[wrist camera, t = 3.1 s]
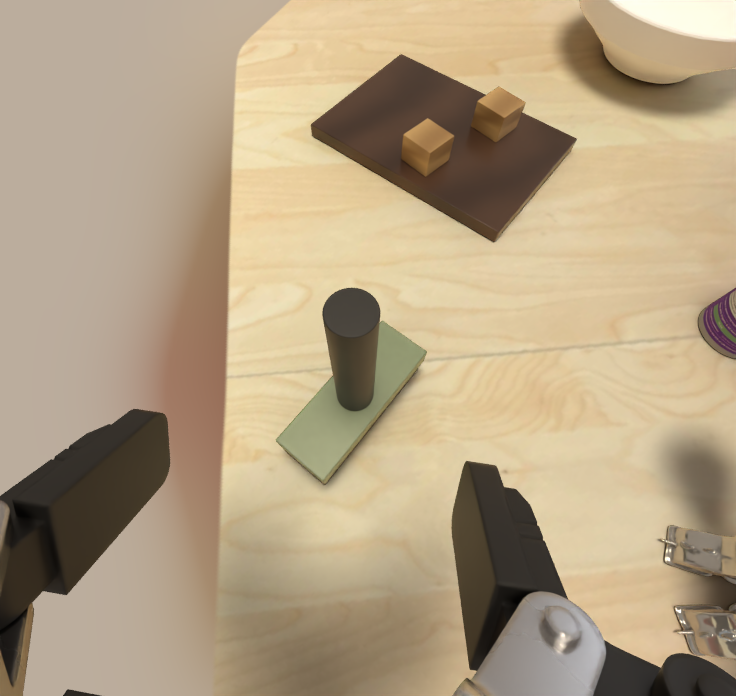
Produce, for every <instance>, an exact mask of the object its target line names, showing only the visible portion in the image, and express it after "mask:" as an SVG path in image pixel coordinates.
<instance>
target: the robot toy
mask: <svg viewBox="0 0 736 696" xmlns="http://www.w3.org/2000/svg"><path fill="white" fill-rule="evenodd" d="M660 540H662V541H663V542H665V543H667V546H666V551H665V557H664V560H665V563H666V564H668V565H671V566H674V567H677V568H680V569H683V570H686V571H689V572H692V573H696V574H699V575H703V576H709V577H710V576H712V574H714V575H718V576H722V577H723V578H724V579H725V580H726V581H728V582H730V583H732V584H735V585H736V537H733V536H721V535H716V534H712V533H708V532H703V531H698V530H693V529H686V528H681V527H678V526H673V525H671V526H669V528H668V537H667V540H665V539H660ZM675 612H676V615H677V617H678V619H679V622H680V624H681V626H682V628H683V630H682V631H678V632H677V633H678V634H685V636H686V639H687V642H688V645H689V648H690V650H691V651H692V653H693V654H695V655H700V656H705V655H708V656H713V657H720V658H727V659H736V603H734V604H732V605H730V607H729V609H728V610H723V609H722V608H721V607H719V606H715V605H679V606H675Z"/></svg>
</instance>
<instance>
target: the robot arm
mask: <svg viewBox="0 0 736 696" xmlns="http://www.w3.org/2000/svg"><path fill="white" fill-rule="evenodd" d="M169 467H170V453H169V437H168V422H167V418H166V416H165V414H163V413H158V412H152V411H145V410H139V409H133V410H131V411H129V412H128V413H127V414H125V415H124V416H122V417H121V418H120V419H118V420H117V421H116V422H114V423H113V424H112V425H110V424H109V425H106V426H104V427H101V428H99V429H97V430H94V431H92V432H90V433H87V434H86V435H84V436H83V437H82V438H80V439H79V440H77V441H76V442H74V443H73V444H72V445H70V446H69V449H65V450H64V451H62V452H61V453H59V454H58V455H56V456H55V458H54V460H50V461H48V462H47V463H45V464H44V465H43V466H41V467H40V468H38V469H37V470H36V471H34V472H33V473H31V474H30V475H29V476H27V477H26V478H25V479H23V480H22V481H20V482H19V483H18V484H16V485H15V486H13V487H12V488H11V489H9V490H8V491H7V492H5V493H4V494H2V495H1V496H0V696H23V689H24V682H25V674H26V667H27V660H28V652H29V645H30V638H31V630H32V623H33V616H34V608H33V604H32V602H33V601H34V600H35V599H36V598H37V597H38V596H39V595H40V594H41V592H42V591H47V592H52V593H57V594H63V595H67V594H68V593H69V592H70V591H71V589H72V588H73V587H74V586H75V585H76V584H77V582H78V581H79V580H80V579H81V578H82V577H83V576H84V574H85V573H86V572H87V571H88V570H89V569H90V568H91V566H92V565H93V564H94V563H95V562H96V560H98V558H99V557H100V556H101V555H102V554H103V553H104V551H105V550H106V549H107V548H108V547H109V545H110V544H111V543H112V542H113V541H114V540H115V539H116V538H117V537H118V535H119V534H120V533H121V532H122V531H123V529H124V528H125V527H126V526H127V525H128V524H129V523H130V522H131V520H132V519H133V518H134V517H135V516H136V515H137V513H138V512H139V511H140V510H141V509H142V508H143V506H144V505H145V504H146V503H147V502H148V501H149V500H150V499H151V497H152V496H153V495H154V494H155V493H156V491H157V490H158V489H159V488H160V487H161V486H162V484H163V483H164V481H165V479H166V477H167V475H168V472H169ZM452 538H453V546H454V553H455V561H456V569H457V576H458V584H459V592H460V599H461V607H462V615H463V622H464V630H465V638H466V645H467V653H468V661H469V668H470V670H475V671H477V672H476V674H475V675H474V677H473V678H472V679H471V680H469V679H468V678H466V679H465V680H464V681H463V682H462V683H461V684H460V686H459V687H458V688H457V690H456V691H455V693H454V694H453V696H736V679H735V678H733V677H732V676H731V675H729V674H728V673H727V672H725V671H724V670H722V669H721V668H719V667H718V666H716V665H714V664H712V663H711V662H709V661H707V660H704V659H702V658H700V657H697V656H694V655H690V654H684V653H679V654H673V655H671V656H669V657H668V658H667V659H666V660H665V662H664V664H663V666H662V667H661V668H660V667H658V666H656V665H653V664H651V663H649V662H647V661H645V660H643V659H640V658H638V657H636V656H634V655H632V654H630V653H627V652H625V651H623V650H621V649H619V648H617V647H615V646H613V645H611V644H610V643H608V642H607V641H605V640H604V639H603V637H602V635H601V633H600V631H599V629H598V627H597V626H596V625H595V623H594V622H593V620H592V619H591V618H590V617H589V616H588V615H587V614H586V613H585V612H584V611H583V610H582V609H581V608H580V607H578V606H577V605H576V604H574V603H573V602H571V601H569V600H568V598H567V596H566V593H565V591H564V588H563V586H562V583H561V581H560V578H559V576H558V573H557V571H556V568H555V566H554V563H553V561H552V558H551V556H550V553H549V551H548V548H547V546H546V543H545V541H543V536H542V533H541V531H540V528H539V526H537V521H536V518H535V516H534V513H533V511H532V508H531V506H530V504H529V503H528V502H527V501H526V500H525V499H524V498H523V497H522V495H521V494H520V493H519V492H518V491H517V490H516V489H512V488H506V487H504V486H503V483H502V480H501V477H500V474H499V471H498V469H497V467H496V466H495V465H489V464H483V463H476V462H470V461H466V462H465V464H464V467H463V470H462V474H461V479H460V483H459V487H458V491H457V495H456V499H455V504H454V508H453V514H452ZM63 696H100V695H94V694H89V693H84V692H79V691H74V690H67V691H66V692H65V694H64V695H63Z"/></svg>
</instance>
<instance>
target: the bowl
mask: <svg viewBox="0 0 736 696" xmlns="http://www.w3.org/2000/svg"><path fill="white" fill-rule="evenodd" d="M579 2H580V8H581V10H582V12H583V14H584V16H585V18H586V19H587V20H588V22H589V23H590V24H591V25H592V27H593V28H594V30H595V32H596V34H597V36H598V38H599V39H600V41H601V42H602V44H603V49H604V54H605V56H606V58H607V59H608V61H609V62H610V63H611V64H612V65H613V66H614V67H615V68H616V69H618V70H619V71H621V72H623V73H624V74H626V75H628V76H631V77H633V78H636V79H639V80H642V81H646V82H651V83H659V84H667V83H676V82H679V81H683V80H685V79H687V78H689V77H690V76H693V75H699V74H704V73H710V72H714V71H718V70H726V69H733V68H736V0H579Z"/></svg>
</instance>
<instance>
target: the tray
mask: <svg viewBox="0 0 736 696" xmlns="http://www.w3.org/2000/svg"><path fill="white" fill-rule="evenodd" d="M484 96H486V95H485V94H483V93H481V92H479V91H477V90H474V89H472V88H470V87H468V86H466V85H464V84H462V83H460V82H458V81H456V80H454V79H452V78H450V77H447V76H445V75H443V74H441V73H439V72H437V71H435V70H433V69H431V68H429V67H427V66H425V65H423V64H421V63H418V62H416V61H414V60H412V59H410V58H408V57H406V56H404V55H402V54H401V55H399V56H398V57H397V58H395V59H394V60H393V61H392V62H390V63H389V64H388V65H386V66H385V67H384V68H383V69H381V70H380V71H379V72H377V73H376V74H375V75H374V76H372V77H371V78H370V79H368V80H367V81H366V82H365V83H363V84H362V85H361V86H359V87H358V88H357V89H356V90H354V91H353V92H352V93H351V94H349V95H348V96H347V97H345V98H344V99H343V100H342V101H340V102H339V103H338V104H336V105H335V106H334V107H333V108H331V109H330V110H329V111H327V112H326V113H325V114H324V115H322V116H321V117H320V118H318V119H317V120H316V121H315V122H313V123H312V124H311V130H312V136H314V137H315V138H317V139H319V140H321V141H322V142H324V143H326V144H327V145H329V146H331V147H333V148H334V149H336V150H338V151H339V152H341V153H343V154H345V155H346V156H348V157H350V158H351V159H353V160H355V161H357V162H358V163H360V164H362V165H363V166H365V167H367V168H369V169H370V170H372V171H374V172H375V173H377V174H379V175H380V176H382V177H384V178H386V179H387V180H389V181H391V182H392V183H394V184H396V185H398V186H399V187H401V188H403V189H404V190H406V191H408V192H410V193H411V194H413V195H415V196H416V197H418V198H420V199H422V200H423V201H425V202H427V203H428V204H430V205H432V206H433V207H435V208H437V209H439V210H440V211H442V212H444V213H445V214H447V215H449V216H451V217H452V218H454V219H456V220H457V221H459V222H461V223H463V224H464V225H466V226H468V227H469V228H471V229H473V230H475V231H476V232H478V233H480V234H481V235H483V236H485V237H487V238H488V239H490V240H492V241H493V242H495V241H496V239H497V238H498V237H499V236H500V235H501V233H502V232H503V231H504V230H505V229H506V227H507V226H508V225H509V224H510V223H511V221H512V220H513V219H514V218H515V217H516V215H517V214H518V213H519V212H520V211H521V209H522V208H523V207H524V206H525V205H526V203H527V202H528V201H529V200H530V199H531V197H532V196H533V195H534V194H535V193H536V191H537V190H538V189H539V188H540V187H541V185H542V184H543V183H544V182H545V181H546V179H547V178H548V177H549V176H550V175H551V173H552V172H553V171H554V170H555V169H556V167H557V166H558V165H559V164H560V163H561V162H562V160H563V159H564V158H565V157H566V156H567V154H568V153H569V152H570V151H571V149H572V148H573V146H574V144H575V142H576V140H577V139H576V138H574V137H572V136H570V135H568V134H566V133H564V132H562V131H559V130H557V129H555V128H553V127H551V126H549V125H547V124H545V123H543V122H541V121H539V120H537V119H535V118H533V117H530V116H528V115H526V114H524V113H522V114H521V116H520V119H519V122H518V124H517V127H516V128H515V129H513V130H512V131H511V132H509V133H508V134H507V135H505V136H504V137H503V138H501V139H500V140H499V141H497V142H494V141H493V140H491V139H490V138H488V137H487V136H485V135H484V134H482V133H481V132H479V131H478V130H476V129H475V128H473V127H471V124H472V120H473V116H474V112H475V109H476V105H477V101H478V100H480V99H481V98H483V97H484ZM427 118H428V119H430V120H431V121H433V122H434V123H436V124H437V125H439V126H440V127H442V128H443V129H445V130H446V131H448V132H449V133H451V134H452V135H454V140H453V144H452V148H451V152H450V157H449V160H448V161H447V162H445V163H444V164H443V165H441V166H440V167H439V168H437V169H436V170H435V171H433V172H432V173H430V174H429V175H428V176H426V177H425V176H424V175H422V174H421V173H420V172H418V171H417V170H416V169H414V168H413V167H411V166H410V165H409V164H407V163H406V162H405V161H403V160H402V159H401V153H402V143H403V135H404V134H405V133H406V132H408V131H409V130H411V129H412V128H414V127H415V126H417V125H418V124H420V123H421V122H423V121H424V120H426V119H427Z"/></svg>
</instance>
